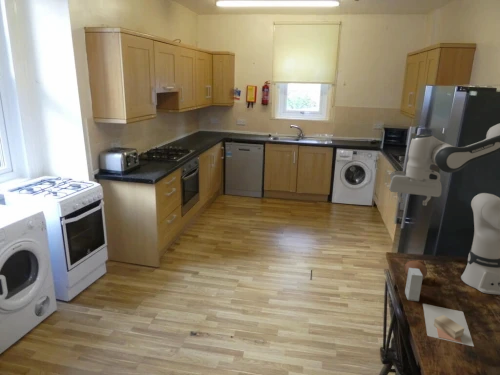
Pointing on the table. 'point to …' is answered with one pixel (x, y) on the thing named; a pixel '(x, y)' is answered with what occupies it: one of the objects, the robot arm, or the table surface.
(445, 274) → the table surface
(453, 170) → the robot arm
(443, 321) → the beige angular block
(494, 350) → the table surface
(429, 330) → the mat
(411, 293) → the skincare box
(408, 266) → the onion
